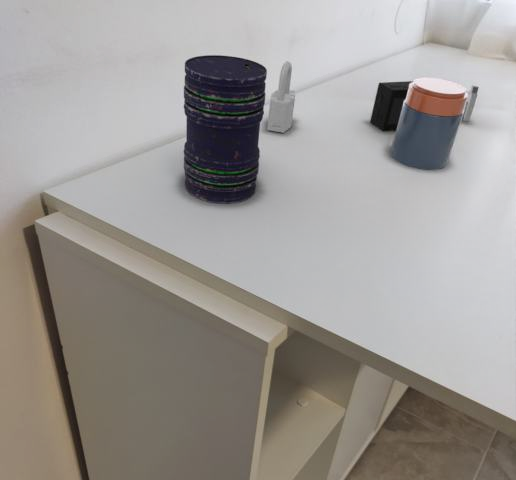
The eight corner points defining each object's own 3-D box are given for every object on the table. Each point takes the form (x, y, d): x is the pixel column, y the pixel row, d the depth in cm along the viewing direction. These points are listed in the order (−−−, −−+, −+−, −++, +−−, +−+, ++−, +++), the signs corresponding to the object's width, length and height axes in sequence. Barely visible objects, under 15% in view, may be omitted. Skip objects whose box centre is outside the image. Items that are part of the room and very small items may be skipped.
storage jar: (204, 209, 67) (208, 82, 57) (171, 177, 73) (169, 57, 63) (270, 196, 72) (284, 76, 62) (234, 166, 78) (241, 53, 68)
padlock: (273, 117, 95) (279, 55, 88) (295, 121, 94) (303, 58, 88) (263, 130, 90) (269, 65, 83) (286, 134, 89) (295, 69, 83)
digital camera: (386, 134, 94) (396, 91, 89) (369, 122, 97) (378, 81, 93) (433, 130, 98) (445, 89, 93) (415, 119, 101) (426, 79, 96)
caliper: (468, 124, 102) (480, 89, 98) (462, 123, 102) (474, 88, 98) (455, 92, 117) (465, 61, 113) (450, 91, 117) (460, 60, 113)
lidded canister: (441, 150, 90) (463, 80, 83) (451, 172, 84) (477, 98, 76) (387, 143, 90) (404, 73, 83) (393, 165, 83) (413, 91, 76)
